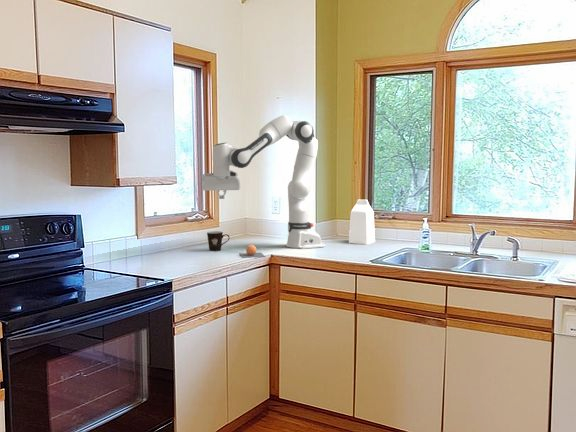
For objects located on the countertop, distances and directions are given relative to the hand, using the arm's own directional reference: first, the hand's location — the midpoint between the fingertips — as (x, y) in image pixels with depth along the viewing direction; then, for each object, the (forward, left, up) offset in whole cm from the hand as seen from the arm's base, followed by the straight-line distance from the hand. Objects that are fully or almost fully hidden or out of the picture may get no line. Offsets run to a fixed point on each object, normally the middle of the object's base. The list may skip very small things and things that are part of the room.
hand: (221, 198), depth 296 cm
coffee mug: (+2, -6, -29) cm, 30 cm away
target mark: (-14, +14, -29) cm, 35 cm away
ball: (-14, +14, -26) cm, 33 cm away
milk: (-86, -13, -29) cm, 92 cm away
